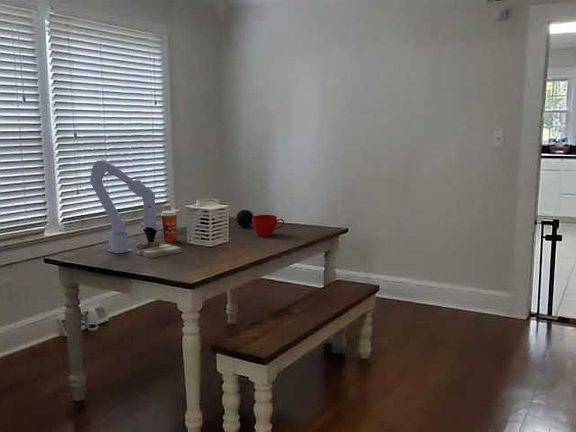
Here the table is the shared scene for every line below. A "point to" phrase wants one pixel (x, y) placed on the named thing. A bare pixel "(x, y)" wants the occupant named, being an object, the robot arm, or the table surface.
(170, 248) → the cream flat block
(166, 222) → the coffee cup
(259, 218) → the ceramic cup
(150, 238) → the robot arm
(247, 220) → the decorative ball
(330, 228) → the table surface
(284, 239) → the table surface
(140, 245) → the folding leg
